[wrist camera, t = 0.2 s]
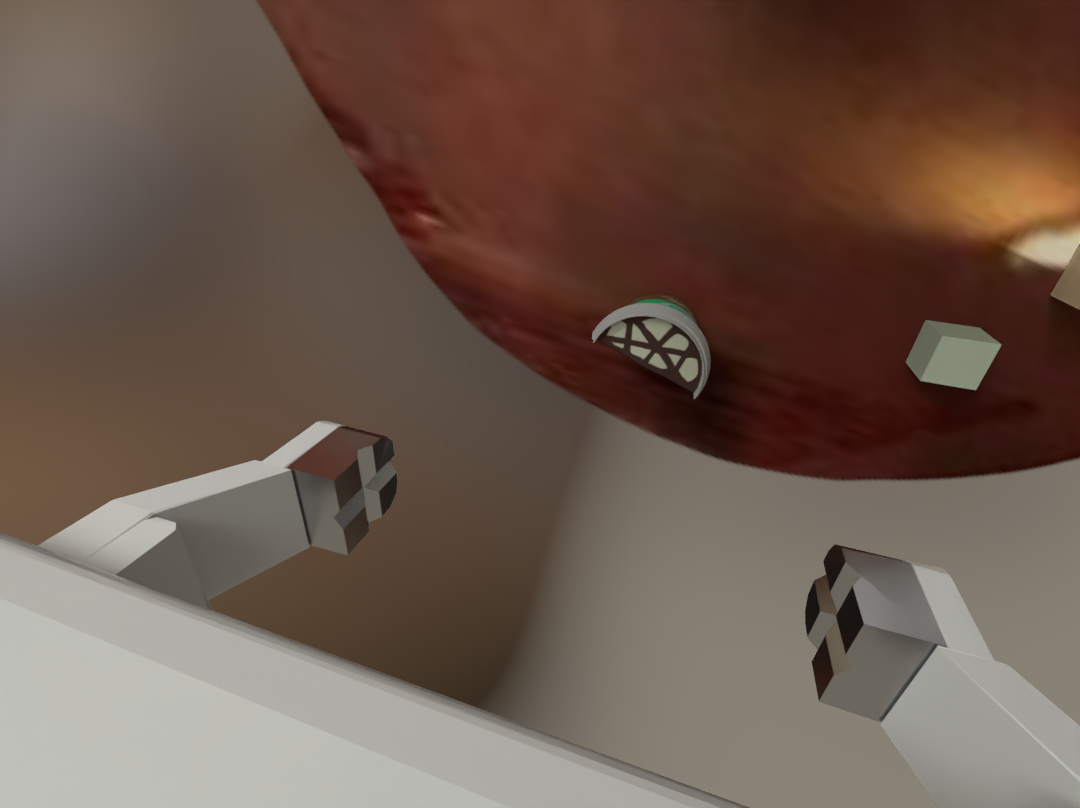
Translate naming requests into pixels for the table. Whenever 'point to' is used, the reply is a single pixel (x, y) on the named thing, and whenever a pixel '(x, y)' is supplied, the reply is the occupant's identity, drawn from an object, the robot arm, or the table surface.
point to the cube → (952, 354)
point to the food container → (660, 339)
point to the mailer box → (1070, 283)
